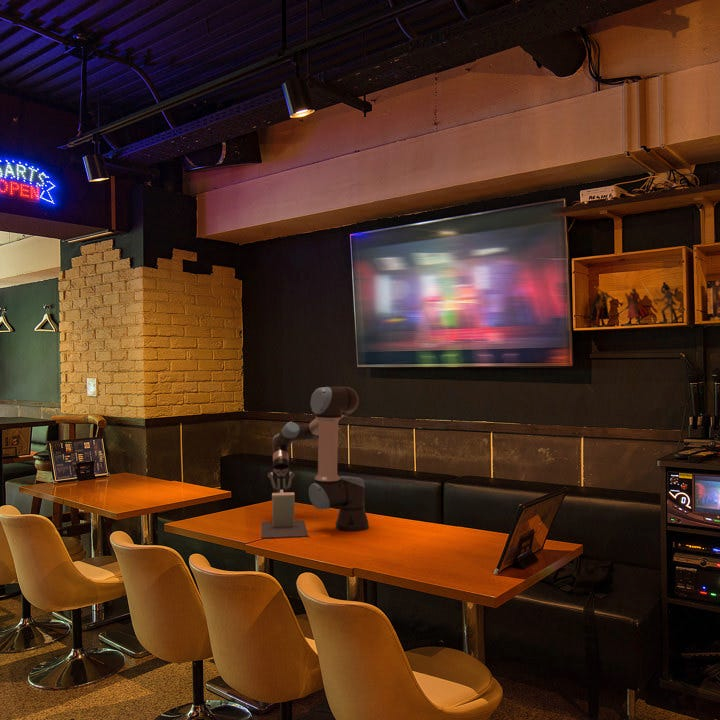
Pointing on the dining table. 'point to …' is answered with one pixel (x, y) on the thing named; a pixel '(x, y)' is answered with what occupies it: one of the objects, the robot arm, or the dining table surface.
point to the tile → (283, 509)
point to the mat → (283, 530)
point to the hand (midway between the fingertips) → (281, 503)
